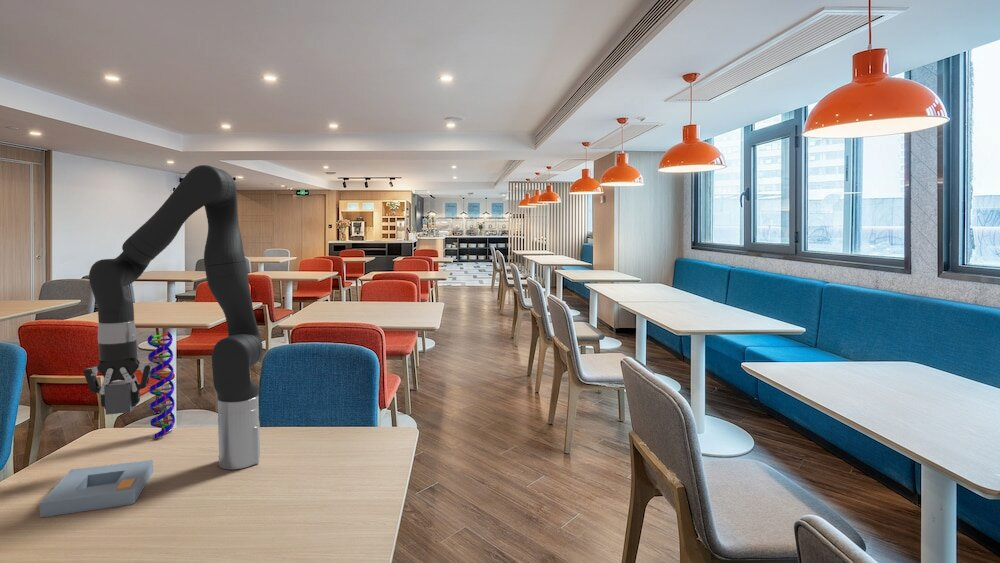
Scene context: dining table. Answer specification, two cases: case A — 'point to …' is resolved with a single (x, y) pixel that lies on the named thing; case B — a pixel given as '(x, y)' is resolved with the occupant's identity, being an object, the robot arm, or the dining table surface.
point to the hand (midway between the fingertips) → (120, 406)
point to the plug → (118, 397)
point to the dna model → (161, 383)
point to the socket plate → (97, 488)
